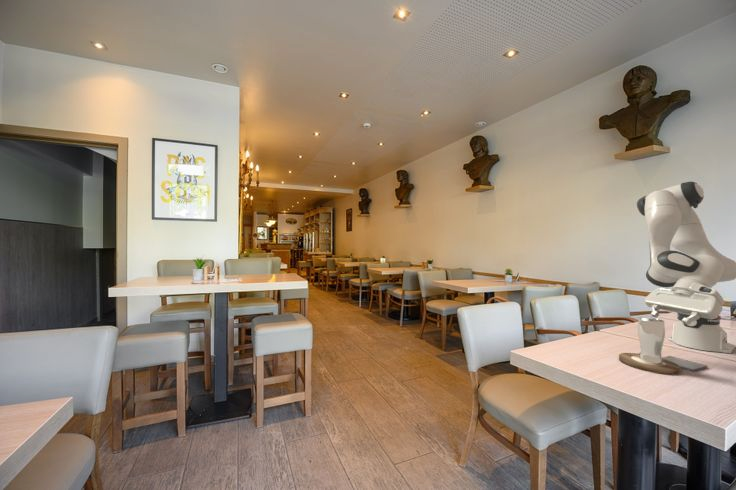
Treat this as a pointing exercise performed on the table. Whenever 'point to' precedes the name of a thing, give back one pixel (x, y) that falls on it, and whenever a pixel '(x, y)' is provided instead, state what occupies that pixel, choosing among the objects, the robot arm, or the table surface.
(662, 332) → the beer glass
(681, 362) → the square charcoal tile
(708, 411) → the table surface
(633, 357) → the round walnut board
